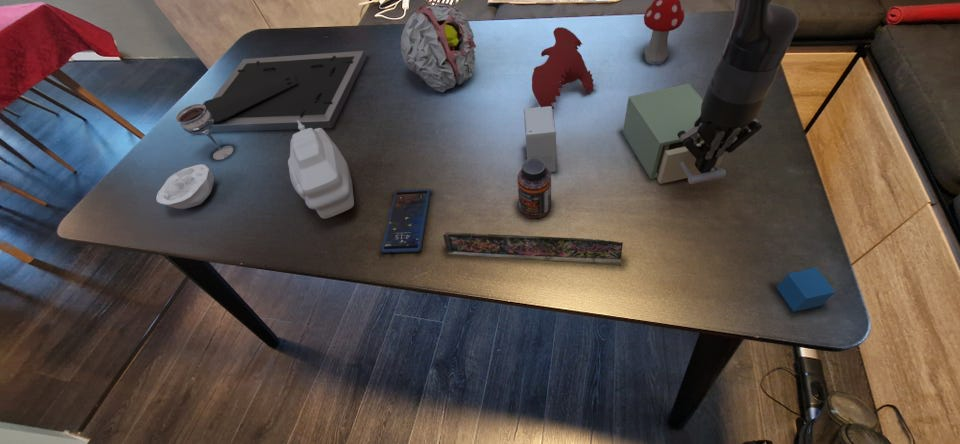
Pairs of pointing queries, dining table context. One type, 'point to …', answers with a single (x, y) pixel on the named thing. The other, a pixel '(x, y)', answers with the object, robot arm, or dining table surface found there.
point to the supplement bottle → (534, 188)
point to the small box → (541, 135)
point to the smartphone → (406, 222)
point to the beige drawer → (684, 165)
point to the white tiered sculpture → (320, 172)
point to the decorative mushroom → (661, 27)
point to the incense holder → (534, 248)
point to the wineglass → (201, 126)
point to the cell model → (187, 187)
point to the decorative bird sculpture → (560, 68)
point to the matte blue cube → (805, 289)
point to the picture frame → (285, 92)
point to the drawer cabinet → (659, 122)
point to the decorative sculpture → (439, 45)
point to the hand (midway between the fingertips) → (702, 169)
